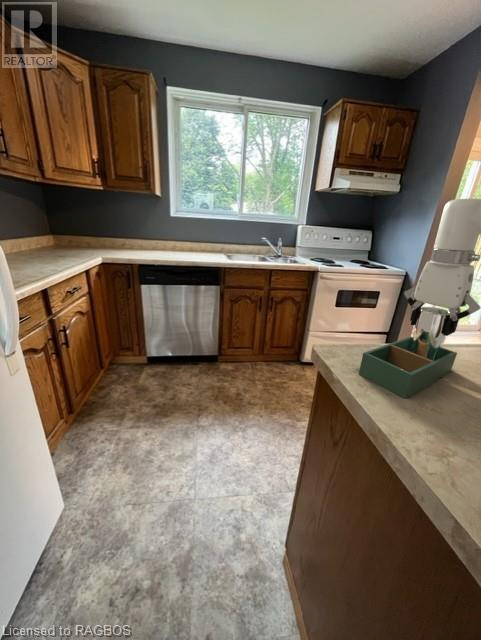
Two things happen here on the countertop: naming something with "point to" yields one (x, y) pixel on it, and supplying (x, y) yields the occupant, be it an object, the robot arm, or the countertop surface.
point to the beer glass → (429, 331)
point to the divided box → (404, 367)
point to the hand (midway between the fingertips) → (430, 328)
